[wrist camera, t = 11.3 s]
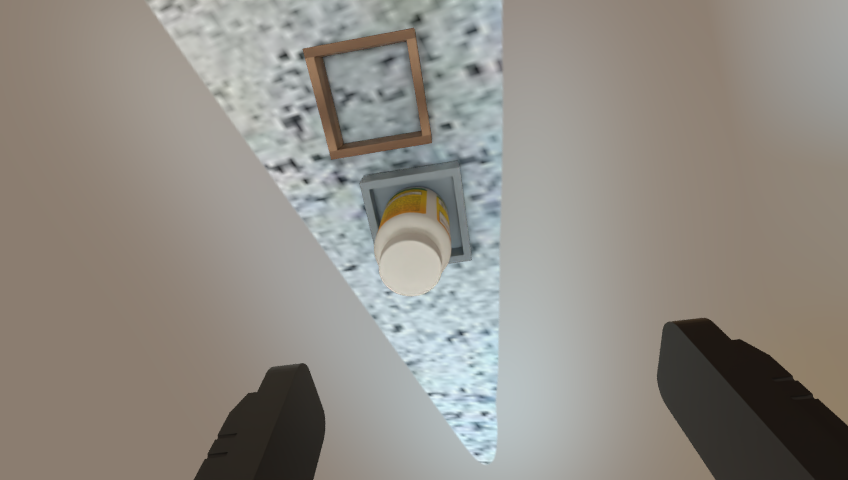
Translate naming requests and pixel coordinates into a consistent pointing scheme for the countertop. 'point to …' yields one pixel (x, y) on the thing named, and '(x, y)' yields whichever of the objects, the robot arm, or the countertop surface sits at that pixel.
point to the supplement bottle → (413, 241)
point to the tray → (432, 177)
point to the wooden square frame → (327, 105)
